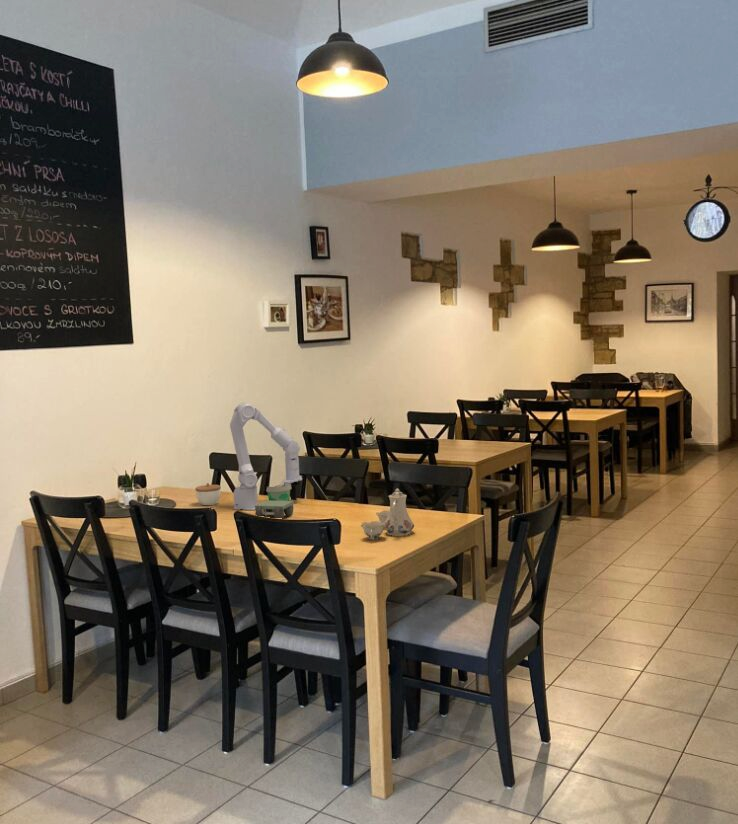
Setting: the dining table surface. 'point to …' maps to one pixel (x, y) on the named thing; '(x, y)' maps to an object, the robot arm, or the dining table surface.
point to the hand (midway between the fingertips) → (293, 499)
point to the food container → (279, 493)
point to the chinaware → (391, 519)
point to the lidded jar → (208, 494)
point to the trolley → (274, 508)
